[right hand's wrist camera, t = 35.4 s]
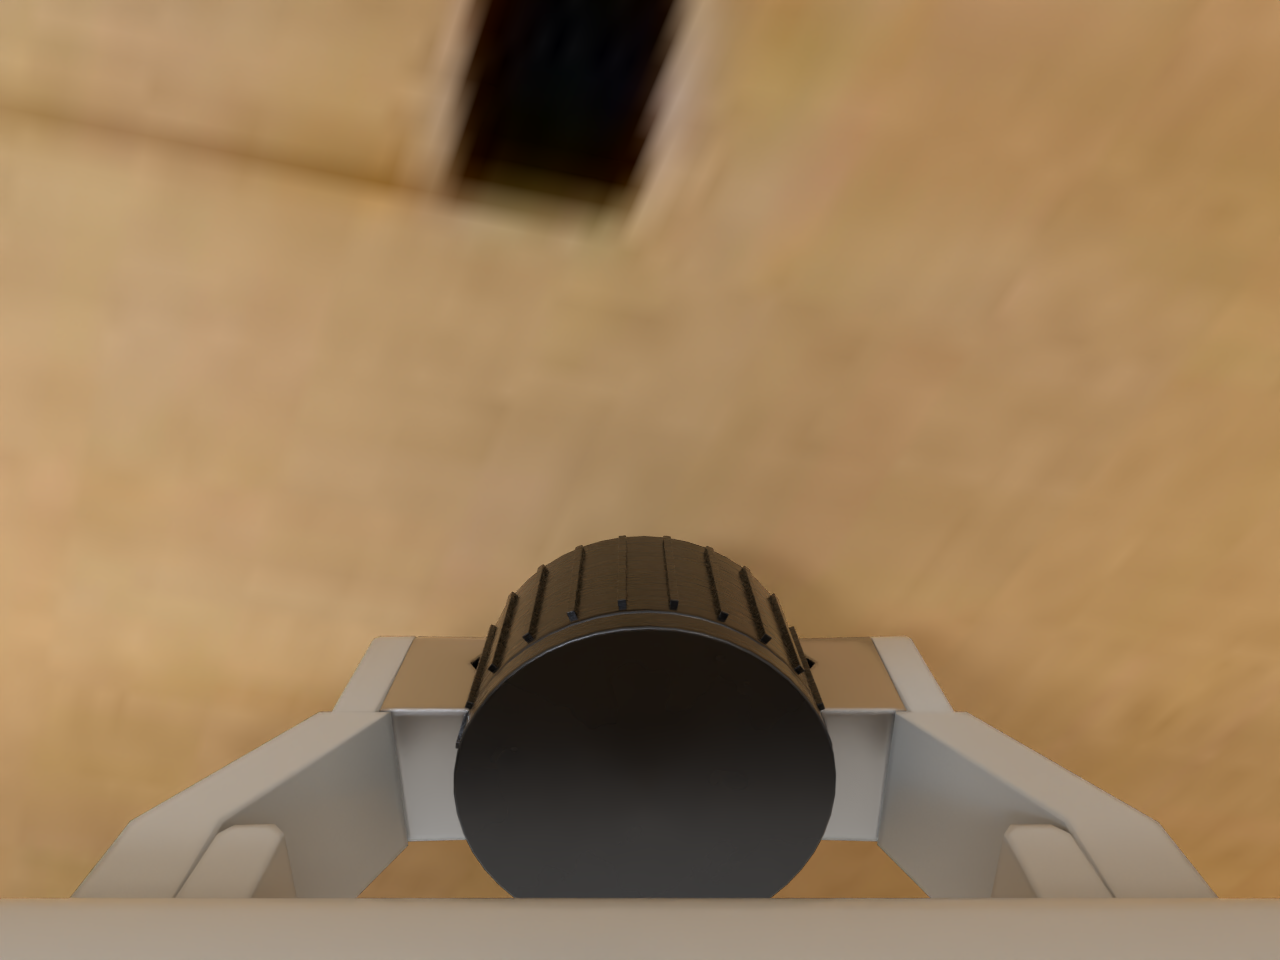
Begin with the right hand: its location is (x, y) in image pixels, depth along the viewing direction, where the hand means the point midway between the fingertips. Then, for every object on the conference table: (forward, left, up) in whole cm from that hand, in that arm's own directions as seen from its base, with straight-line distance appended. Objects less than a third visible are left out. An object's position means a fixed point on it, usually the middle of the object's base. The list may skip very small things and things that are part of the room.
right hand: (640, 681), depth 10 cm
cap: (0, 0, +2) cm, 2 cm away
